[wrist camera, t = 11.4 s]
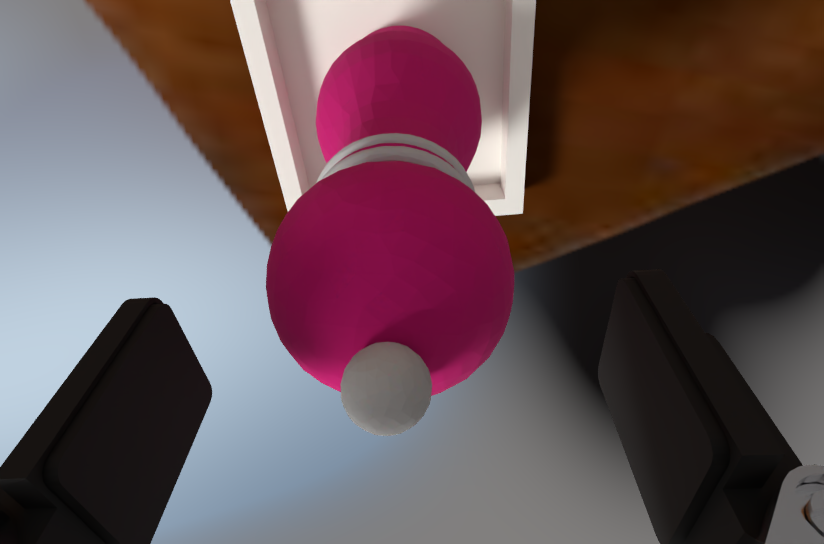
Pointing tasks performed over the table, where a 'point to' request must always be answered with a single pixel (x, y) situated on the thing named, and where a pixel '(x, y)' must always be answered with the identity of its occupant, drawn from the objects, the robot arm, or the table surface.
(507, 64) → the ceramic dish
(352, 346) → the pepper mill
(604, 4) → the table surface
